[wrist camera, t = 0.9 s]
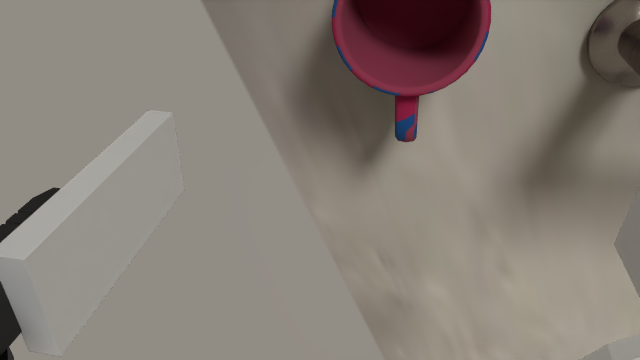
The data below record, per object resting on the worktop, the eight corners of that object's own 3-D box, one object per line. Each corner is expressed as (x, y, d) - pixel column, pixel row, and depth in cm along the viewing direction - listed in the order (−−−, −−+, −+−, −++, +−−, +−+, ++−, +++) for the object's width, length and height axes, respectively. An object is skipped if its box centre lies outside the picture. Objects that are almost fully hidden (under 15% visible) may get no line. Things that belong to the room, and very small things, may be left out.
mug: (491, -75, 25) (509, -55, 19) (451, 109, 31) (456, 166, 25) (357, -86, 26) (337, -70, 20) (342, 95, 31) (322, 148, 26)
